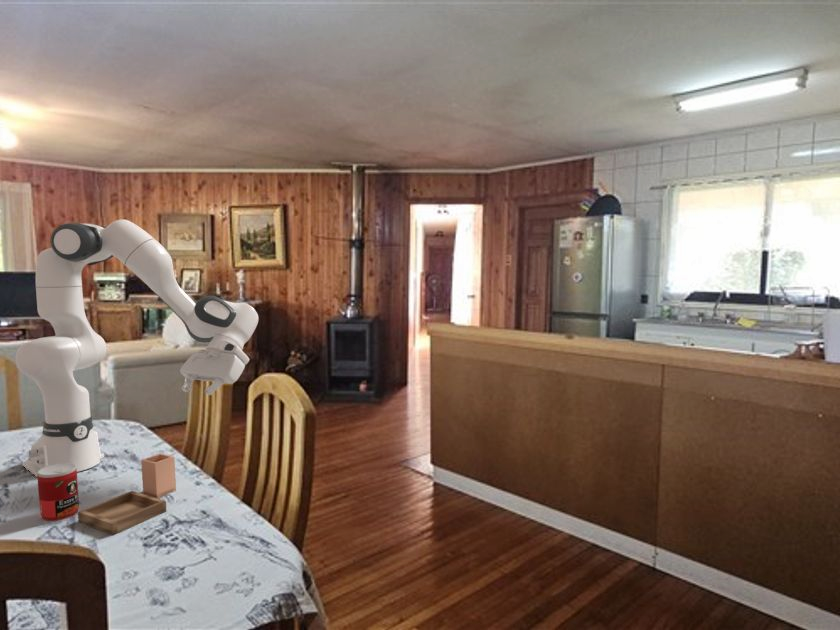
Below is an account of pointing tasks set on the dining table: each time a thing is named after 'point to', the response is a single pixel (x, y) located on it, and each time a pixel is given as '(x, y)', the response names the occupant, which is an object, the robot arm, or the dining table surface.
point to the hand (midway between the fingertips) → (196, 392)
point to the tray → (122, 512)
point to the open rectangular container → (158, 475)
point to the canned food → (58, 491)
